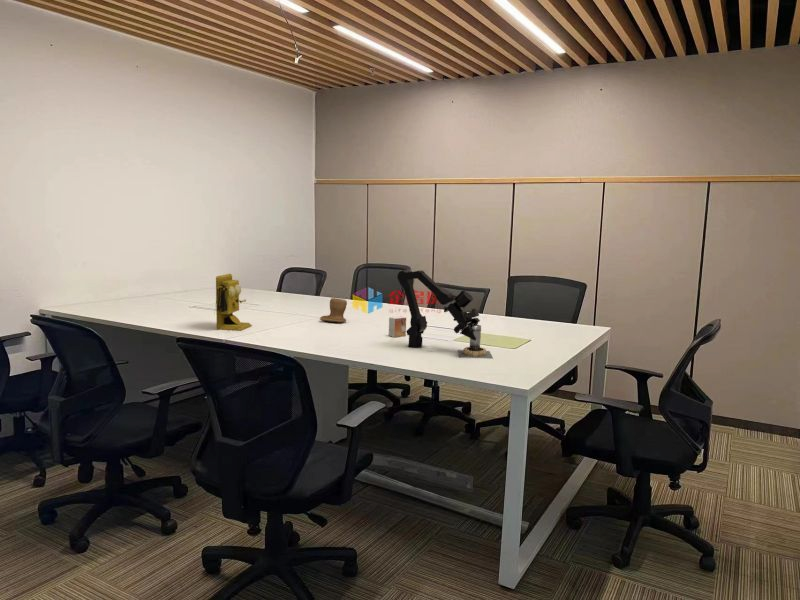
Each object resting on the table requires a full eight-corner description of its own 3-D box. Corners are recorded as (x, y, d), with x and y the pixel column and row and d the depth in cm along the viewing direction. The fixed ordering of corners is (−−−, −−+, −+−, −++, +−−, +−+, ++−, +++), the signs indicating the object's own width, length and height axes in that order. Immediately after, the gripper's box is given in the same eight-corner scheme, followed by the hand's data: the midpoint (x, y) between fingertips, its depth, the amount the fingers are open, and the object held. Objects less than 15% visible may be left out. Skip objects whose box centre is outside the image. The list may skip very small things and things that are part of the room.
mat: (459, 358, 279) (459, 357, 279) (457, 351, 295) (457, 349, 295) (493, 359, 279) (493, 358, 279) (489, 352, 295) (489, 351, 295)
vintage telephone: (234, 334, 322) (233, 279, 318) (209, 332, 324) (209, 277, 320) (256, 324, 353) (256, 273, 349) (234, 322, 355) (234, 272, 351)
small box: (394, 337, 324) (394, 318, 323) (388, 335, 329) (388, 317, 327) (406, 336, 329) (406, 317, 327) (400, 334, 333) (400, 316, 332)
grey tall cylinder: (472, 353, 283) (474, 326, 282) (467, 351, 288) (468, 324, 286) (482, 352, 286) (483, 326, 284) (476, 350, 290) (477, 324, 288)
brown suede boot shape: (350, 321, 370) (350, 297, 368) (341, 324, 359) (341, 299, 357) (328, 319, 376) (329, 295, 374) (319, 322, 365) (319, 298, 363)
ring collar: (464, 356, 282) (464, 351, 282) (463, 351, 292) (463, 346, 292) (486, 356, 282) (486, 351, 281) (484, 352, 292) (484, 347, 292)
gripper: (461, 305, 278) (481, 331, 274) (477, 301, 294) (496, 326, 290) (445, 320, 283) (465, 346, 279) (461, 315, 299) (481, 339, 295)
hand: (477, 339), depth 285 cm, fingers closed on grey tall cylinder, 5 cm apart
